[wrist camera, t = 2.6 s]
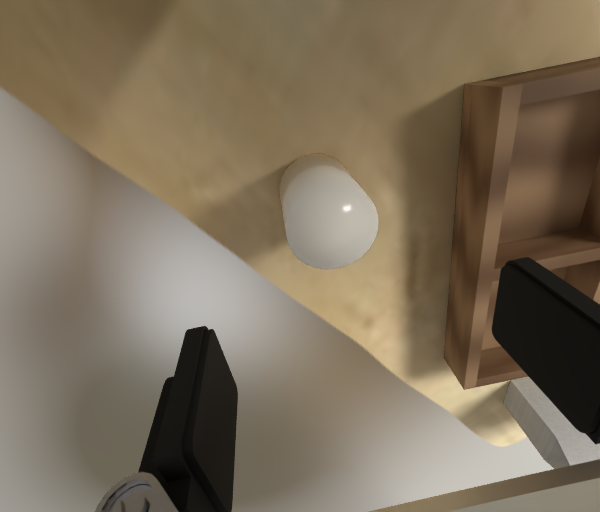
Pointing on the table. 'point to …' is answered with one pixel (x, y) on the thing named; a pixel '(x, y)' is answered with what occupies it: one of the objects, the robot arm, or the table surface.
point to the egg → (326, 213)
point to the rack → (522, 201)
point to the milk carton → (548, 426)
